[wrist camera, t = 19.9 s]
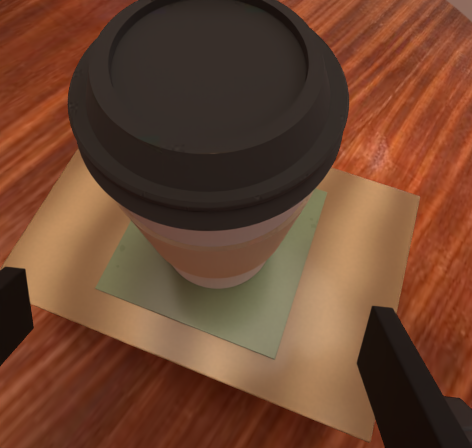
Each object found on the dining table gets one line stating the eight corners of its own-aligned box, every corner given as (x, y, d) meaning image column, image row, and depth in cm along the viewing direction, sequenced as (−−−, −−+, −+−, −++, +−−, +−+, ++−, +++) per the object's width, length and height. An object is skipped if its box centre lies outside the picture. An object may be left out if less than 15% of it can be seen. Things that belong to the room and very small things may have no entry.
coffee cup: (295, 304, 23) (401, 184, 9) (144, 311, 22) (11, 197, 8) (280, 174, 26) (341, -57, 12) (150, 178, 26) (63, -55, 12)
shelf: (373, 240, 34) (422, 194, 26) (328, 425, 28) (372, 443, 20) (137, 159, 37) (110, 93, 29) (51, 311, 31) (-15, 285, 23)
